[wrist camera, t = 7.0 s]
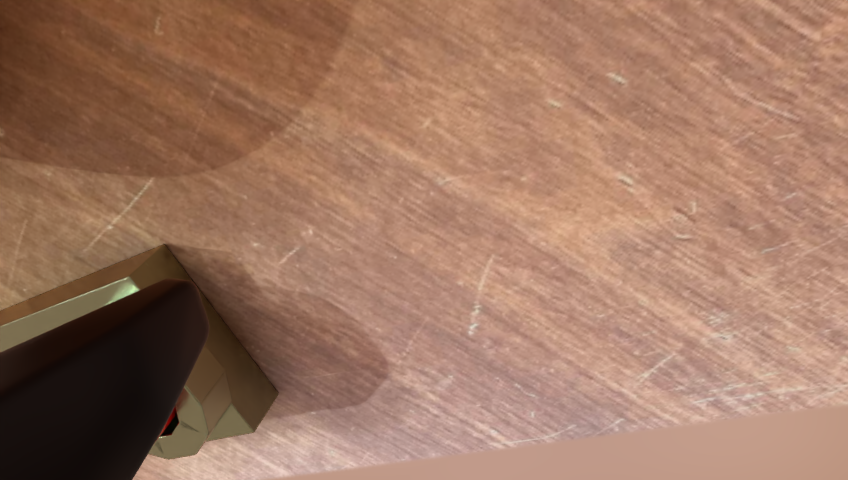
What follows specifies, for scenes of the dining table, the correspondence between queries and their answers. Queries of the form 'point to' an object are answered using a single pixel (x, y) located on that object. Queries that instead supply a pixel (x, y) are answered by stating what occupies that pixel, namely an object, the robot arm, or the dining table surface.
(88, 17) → the dining table surface
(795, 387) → the dining table surface
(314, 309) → the dining table surface
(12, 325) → the button block
